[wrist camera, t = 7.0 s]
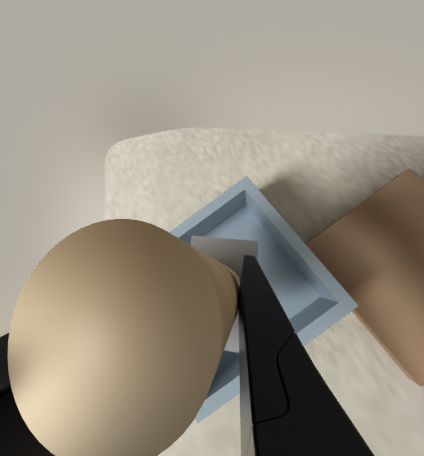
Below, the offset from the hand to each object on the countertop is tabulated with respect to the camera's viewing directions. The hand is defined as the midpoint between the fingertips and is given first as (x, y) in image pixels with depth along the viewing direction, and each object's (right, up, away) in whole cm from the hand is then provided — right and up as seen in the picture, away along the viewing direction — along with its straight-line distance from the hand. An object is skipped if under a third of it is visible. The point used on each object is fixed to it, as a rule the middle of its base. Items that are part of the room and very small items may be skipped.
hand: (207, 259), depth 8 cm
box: (+2, -4, +11) cm, 12 cm away
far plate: (+16, -2, +9) cm, 19 cm away
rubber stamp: (+1, -3, +6) cm, 6 cm away
